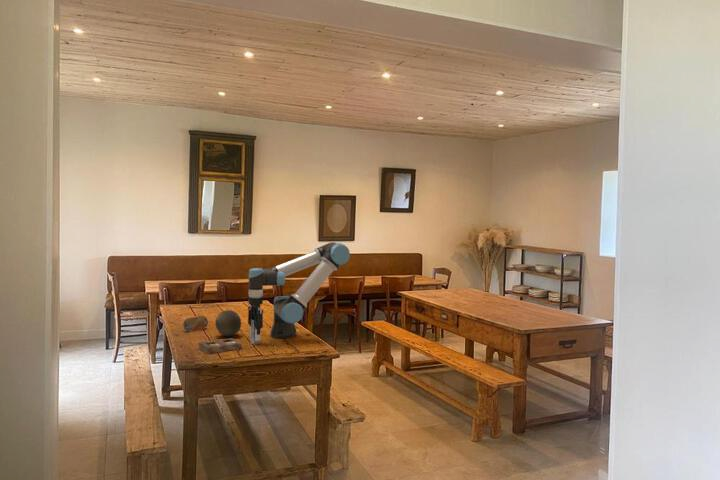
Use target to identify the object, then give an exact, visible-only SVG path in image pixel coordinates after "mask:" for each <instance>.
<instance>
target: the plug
mask: <svg viewBox="0 0 720 480" xmlns="http://www.w3.org/2000/svg"><path fill="white" fill-rule="evenodd" d="M255 328H256V322H255V319H251V338H250V344H252V345H259V344H260V340H258V341H255Z"/></svg>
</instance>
